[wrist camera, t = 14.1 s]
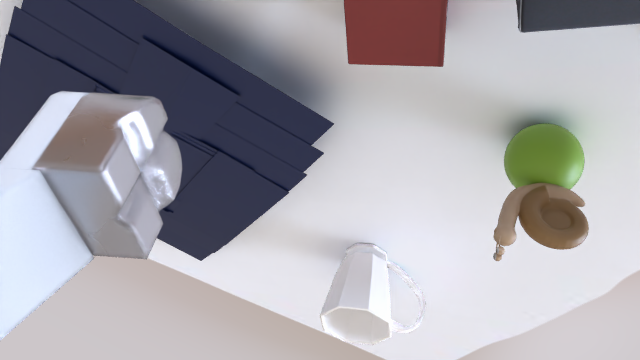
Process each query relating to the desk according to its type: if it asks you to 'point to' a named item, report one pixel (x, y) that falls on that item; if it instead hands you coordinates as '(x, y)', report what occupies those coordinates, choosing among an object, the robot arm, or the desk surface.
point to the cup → (365, 298)
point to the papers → (166, 108)
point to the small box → (575, 14)
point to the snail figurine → (543, 189)
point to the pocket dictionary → (396, 32)
